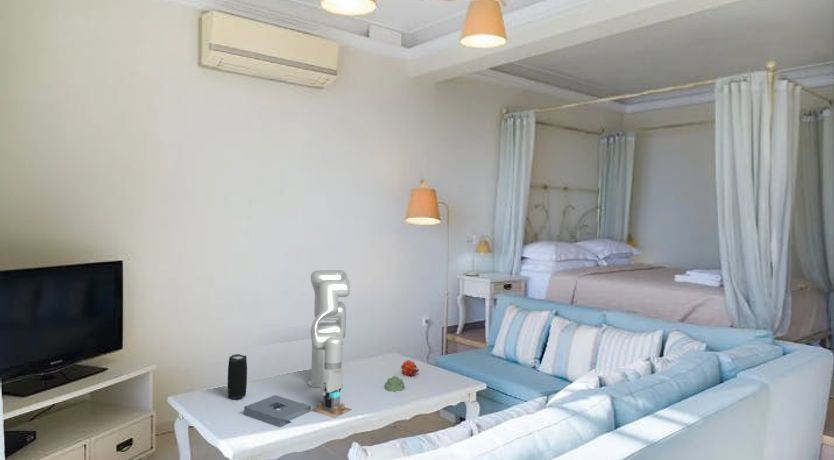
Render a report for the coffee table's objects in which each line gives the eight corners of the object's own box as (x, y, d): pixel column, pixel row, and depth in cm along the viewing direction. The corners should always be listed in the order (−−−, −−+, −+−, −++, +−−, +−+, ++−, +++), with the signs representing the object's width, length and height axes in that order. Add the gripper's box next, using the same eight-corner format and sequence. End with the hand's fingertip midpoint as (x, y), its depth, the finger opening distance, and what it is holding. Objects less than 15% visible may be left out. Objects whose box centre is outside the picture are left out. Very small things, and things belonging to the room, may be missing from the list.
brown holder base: (328, 404, 252) (328, 396, 252) (352, 411, 245) (352, 402, 244) (310, 412, 242) (310, 403, 242) (334, 420, 234) (334, 411, 234)
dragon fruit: (405, 373, 306) (414, 383, 296) (394, 366, 302) (404, 376, 292) (414, 361, 307) (424, 370, 297) (404, 354, 303) (413, 363, 293)
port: (275, 402, 252) (275, 395, 252) (310, 413, 240) (310, 406, 240) (244, 414, 237) (244, 406, 237) (280, 427, 225) (280, 418, 225)
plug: (329, 407, 246) (329, 389, 246) (339, 410, 243) (340, 392, 243) (323, 409, 243) (323, 392, 243) (333, 412, 240) (334, 395, 239)
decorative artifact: (395, 384, 284) (380, 388, 277) (395, 370, 284) (381, 374, 277) (408, 389, 277) (393, 393, 270) (408, 375, 277) (394, 379, 270)
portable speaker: (230, 401, 251) (230, 360, 250) (225, 395, 259) (226, 354, 258) (248, 398, 255) (249, 357, 254) (243, 392, 263) (244, 352, 262)
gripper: (338, 359, 251) (337, 398, 252) (313, 368, 237) (312, 409, 238) (351, 362, 247) (350, 402, 248) (326, 371, 233) (325, 413, 234)
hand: (331, 405), depth 243 cm, fingers closed on plug, 4 cm apart
